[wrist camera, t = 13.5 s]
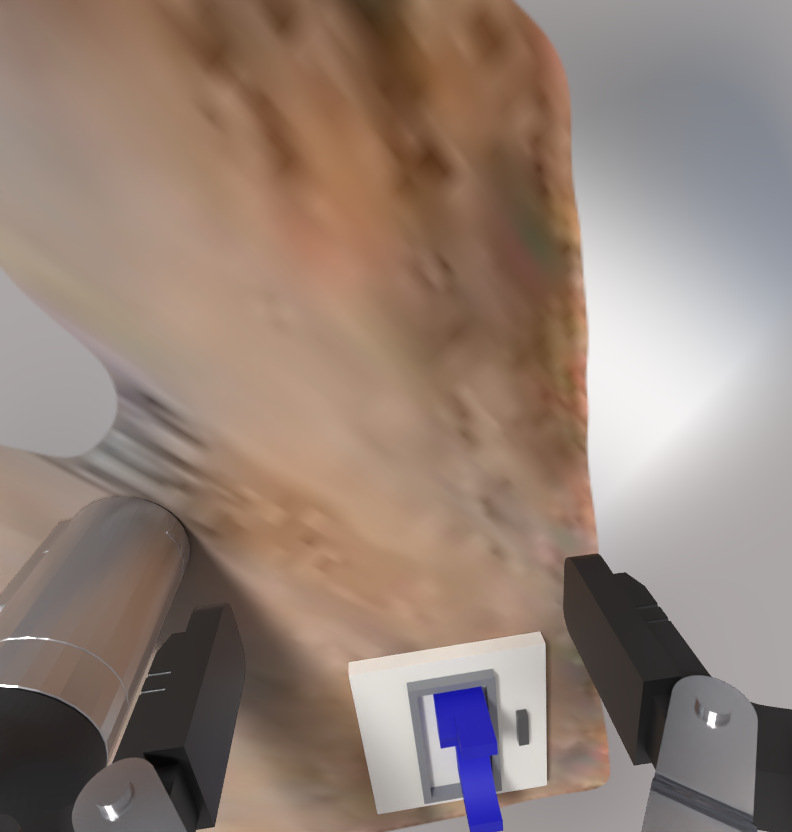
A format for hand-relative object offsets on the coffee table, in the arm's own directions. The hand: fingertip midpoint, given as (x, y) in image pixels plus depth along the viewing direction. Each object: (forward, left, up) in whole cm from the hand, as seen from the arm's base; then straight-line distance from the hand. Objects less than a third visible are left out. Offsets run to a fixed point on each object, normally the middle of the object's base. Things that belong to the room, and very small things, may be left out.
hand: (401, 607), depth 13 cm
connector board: (+3, -41, -28) cm, 50 cm away
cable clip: (+4, -40, -26) cm, 48 cm away
